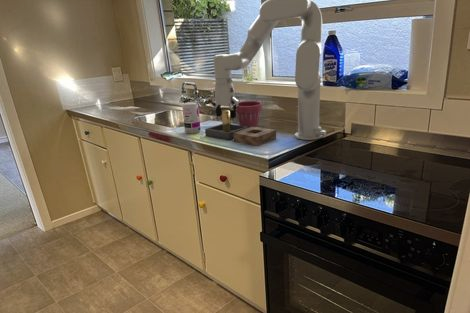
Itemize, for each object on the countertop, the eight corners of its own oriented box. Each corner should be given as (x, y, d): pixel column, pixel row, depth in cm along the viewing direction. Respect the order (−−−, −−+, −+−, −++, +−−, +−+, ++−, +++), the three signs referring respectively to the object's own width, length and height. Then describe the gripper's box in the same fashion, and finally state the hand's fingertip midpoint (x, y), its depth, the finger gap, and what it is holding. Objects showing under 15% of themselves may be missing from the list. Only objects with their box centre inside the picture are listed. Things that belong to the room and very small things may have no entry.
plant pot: (263, 129, 177) (262, 104, 173) (236, 131, 177) (234, 106, 173) (261, 123, 191) (260, 100, 187) (235, 125, 191) (234, 101, 187)
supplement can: (201, 129, 186) (198, 101, 181) (200, 133, 178) (197, 104, 173) (186, 130, 186) (183, 102, 181) (184, 134, 178) (181, 105, 173)
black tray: (248, 133, 172) (248, 126, 171) (228, 140, 162) (228, 133, 161) (225, 129, 182) (224, 123, 181) (205, 135, 173) (205, 128, 172)
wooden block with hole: (276, 138, 161) (276, 129, 159) (257, 145, 151) (256, 137, 150) (253, 134, 170) (252, 126, 169) (233, 141, 160) (233, 132, 159)
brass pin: (232, 132, 172) (231, 110, 169) (227, 134, 169) (225, 111, 166) (226, 131, 175) (225, 109, 172) (221, 133, 172) (219, 111, 169)
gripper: (242, 80, 161) (244, 117, 166) (216, 80, 172) (219, 114, 178) (231, 83, 156) (234, 120, 161) (205, 82, 167) (208, 116, 173)
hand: (226, 117), depth 169 cm, fingers open, 9 cm apart
